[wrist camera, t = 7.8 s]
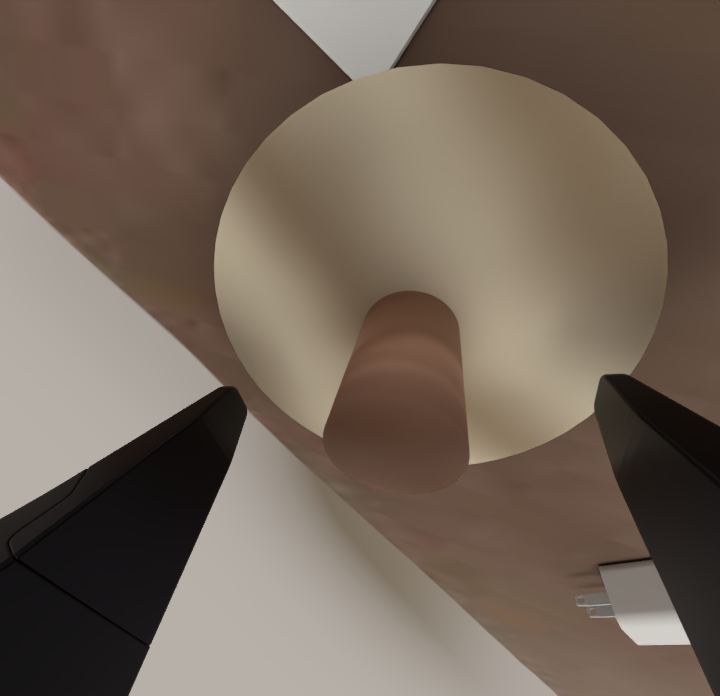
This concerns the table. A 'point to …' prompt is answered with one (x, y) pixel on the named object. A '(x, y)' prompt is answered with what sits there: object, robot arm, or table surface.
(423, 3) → the mat
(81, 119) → the table surface
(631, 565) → the usb wall charger
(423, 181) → the lid
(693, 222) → the table surface
